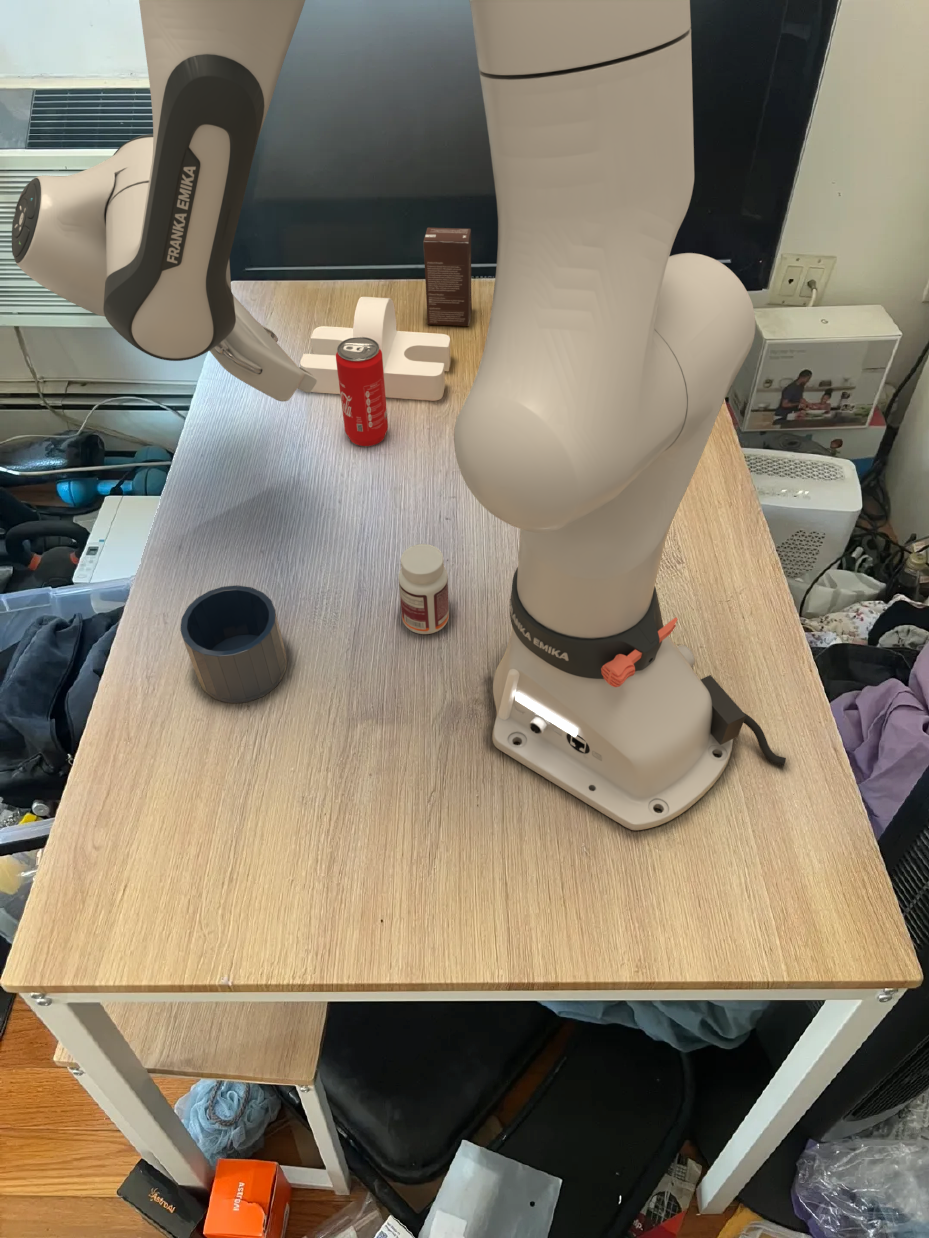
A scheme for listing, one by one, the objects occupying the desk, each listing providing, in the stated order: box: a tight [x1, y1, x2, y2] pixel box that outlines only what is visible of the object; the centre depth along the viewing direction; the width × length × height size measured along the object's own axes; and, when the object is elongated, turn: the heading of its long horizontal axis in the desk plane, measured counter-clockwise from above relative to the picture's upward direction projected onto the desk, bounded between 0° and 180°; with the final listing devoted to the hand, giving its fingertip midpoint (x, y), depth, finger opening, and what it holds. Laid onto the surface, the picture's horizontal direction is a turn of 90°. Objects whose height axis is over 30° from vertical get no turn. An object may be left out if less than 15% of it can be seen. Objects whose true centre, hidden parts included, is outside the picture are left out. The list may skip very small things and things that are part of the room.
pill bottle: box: [397, 543, 450, 635], centre depth 88 cm, size 5×5×8 cm
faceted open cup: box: [179, 584, 288, 704], centre depth 84 cm, size 8×8×7 cm
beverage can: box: [336, 337, 389, 448], centre depth 106 cm, size 5×5×12 cm
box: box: [422, 227, 473, 327], centre depth 123 cm, size 6×4×12 cm
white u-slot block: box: [299, 296, 451, 402], centre depth 115 cm, size 10×18×10 cm, turn 83°
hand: (291, 362), depth 98 cm, fingers open, 8 cm apart
